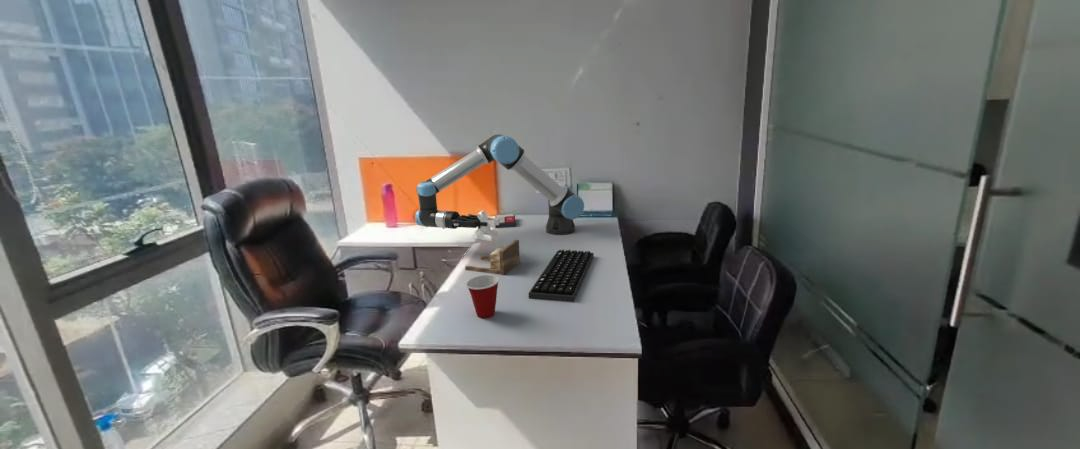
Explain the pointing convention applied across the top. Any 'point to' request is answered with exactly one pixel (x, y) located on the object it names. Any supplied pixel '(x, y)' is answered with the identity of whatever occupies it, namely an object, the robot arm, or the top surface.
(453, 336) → the top surface
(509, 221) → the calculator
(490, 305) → the plastic cup
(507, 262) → the walnut rack
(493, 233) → the white creature statuette
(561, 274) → the computer keyboard
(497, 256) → the offcut stack
